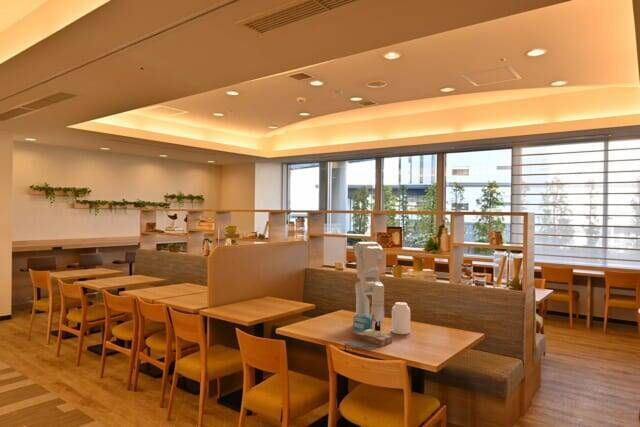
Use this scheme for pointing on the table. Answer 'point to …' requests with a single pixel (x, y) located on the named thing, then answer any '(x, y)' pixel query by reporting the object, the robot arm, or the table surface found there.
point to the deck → (374, 338)
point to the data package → (361, 323)
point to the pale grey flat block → (372, 333)
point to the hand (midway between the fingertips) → (377, 331)
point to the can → (400, 318)
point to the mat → (362, 345)
